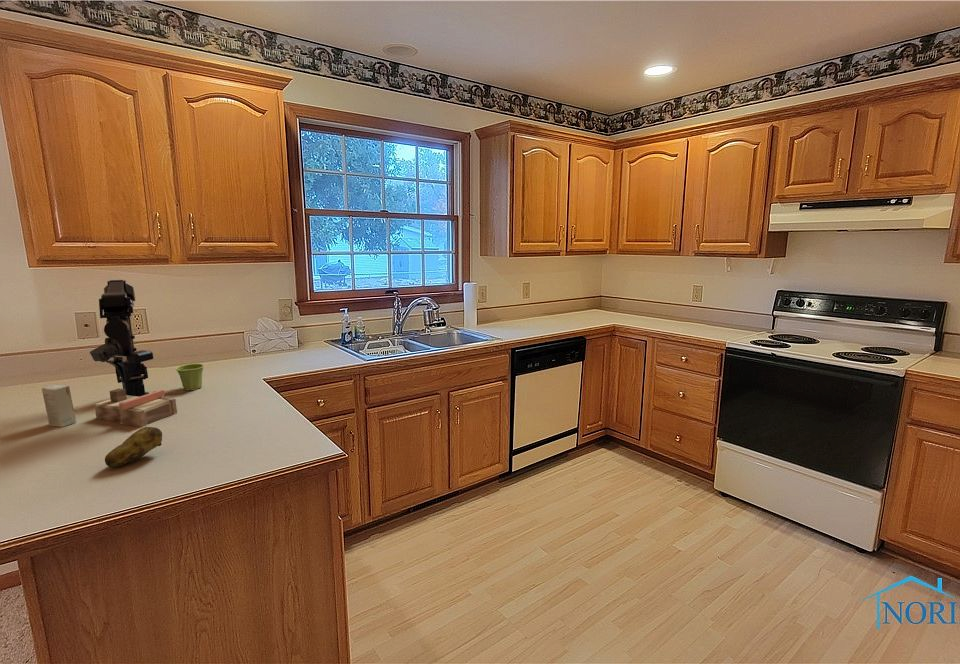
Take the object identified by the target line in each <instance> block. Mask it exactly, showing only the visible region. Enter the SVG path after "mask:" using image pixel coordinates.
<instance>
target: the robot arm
mask: <svg viewBox="0 0 960 664" xmlns="http://www.w3.org/2000/svg"><path fill="white" fill-rule="evenodd" d="M106 283H107V284H106V286H104V287H103V293H102V294H101V296H100V298H98V305H99V308H98V309H99V319H106V321H105V322H106V323H105V325H104V326H103V331H104V332H103V333H104V334H105V336H106V337H105V339H104V344H102V345H98V347H96V348H94V349H92V350H90V351H89V355H90V356H91V357H92V360H93V361H94V362H101V363H105V362H106V363H107V364H110V365H111V366H113V367H114V369H115V374H116V375H115V376H116V380H117V384H120V383H121V384H122V386H121V387H122V389H126V395H128V396H137V397H140V396H143V395H146V394H149V393H150V392H148V391H146V388H145V384H144V380H146V379H148V378H149V374H148V368H147V366H146V365H145V363H144V362H147V361H151V360H154V359H155V358H154V352H152V351H151V350H145V349H143V350H141V349H140V350H138V349H137V347H135V342H134V339H136V337H135V336H136V335H133V328H132V319H131V317H132V314H134V306H135V304H134V302H136V295H135V290H134V286H132V285H131V284H128V283H127V281H126V280H124V279H112V280H111V279H110V280H107V281H106ZM137 350H138V351H137Z"/></svg>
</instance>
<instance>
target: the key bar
mask: <svg viewBox="0 0 960 664" xmlns="http://www.w3.org/2000/svg"><path fill="white" fill-rule="evenodd" d="M154 391H155V392H154ZM154 391H152V392H149V394H146V395H143V396H140V397H137V398H134V399H131V400H128V401H125V402H122V403H120V408H121V410H126V409H129V408H131V407H134V406H137V405H140V404H143V403H146V402H149V401H152V400H154V399H157V398H160V397H165V396H166V394H165V390H164V389H159V390H154Z"/></svg>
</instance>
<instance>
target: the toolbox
mask: <svg viewBox="0 0 960 664" xmlns="http://www.w3.org/2000/svg"><path fill="white" fill-rule="evenodd" d="M155 391H156V390H154V391H153V392H155ZM157 399H164V400H170V403H169V404H166V405H163V406H161V407H158V408H155V409H152V410H150V411H147V412H144V410H137V409H126V410H121V408H120V409H119V410H118V409H110V408H102V407H96V406H95V407H94V411H95V417H96V420H102V421H108V422H109V421H110V422H115V423H117V422H118V423H120V425H124V426H125V425H127V426H133V427H140V428H144V427H147V425H148V424H152V423H154V422H156V421H159V420H162V419H165V418H167V417H169V416H172V415H176V414H178V409H177V401H176V398H173V397H165V396H163V397H160V398H157ZM121 403H122V402H121ZM119 405H120V403H119Z"/></svg>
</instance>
